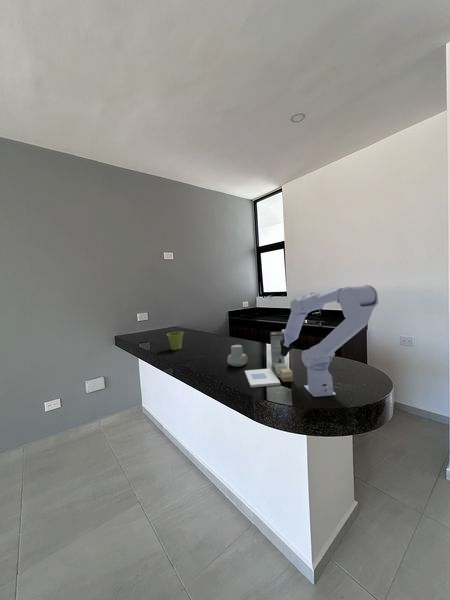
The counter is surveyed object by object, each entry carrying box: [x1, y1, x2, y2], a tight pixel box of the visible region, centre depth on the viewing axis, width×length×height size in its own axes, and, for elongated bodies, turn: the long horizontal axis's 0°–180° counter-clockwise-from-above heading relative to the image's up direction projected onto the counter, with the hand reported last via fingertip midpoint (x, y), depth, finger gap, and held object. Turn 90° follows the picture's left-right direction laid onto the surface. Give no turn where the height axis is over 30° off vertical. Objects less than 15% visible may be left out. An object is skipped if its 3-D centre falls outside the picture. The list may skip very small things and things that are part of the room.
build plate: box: [244, 368, 281, 388], centre depth 108 cm, size 18×12×1 cm, turn 3°
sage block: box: [274, 363, 287, 376], centre depth 114 cm, size 4×4×4 cm
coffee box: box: [269, 331, 286, 368], centre depth 126 cm, size 9×6×16 cm
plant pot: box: [166, 331, 184, 351], centre depth 177 cm, size 12×12×11 cm
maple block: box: [279, 368, 294, 383], centre depth 105 cm, size 4×4×4 cm
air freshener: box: [226, 344, 249, 367], centre depth 130 cm, size 11×8×10 cm
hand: (285, 350), depth 109 cm, fingers open, 7 cm apart
